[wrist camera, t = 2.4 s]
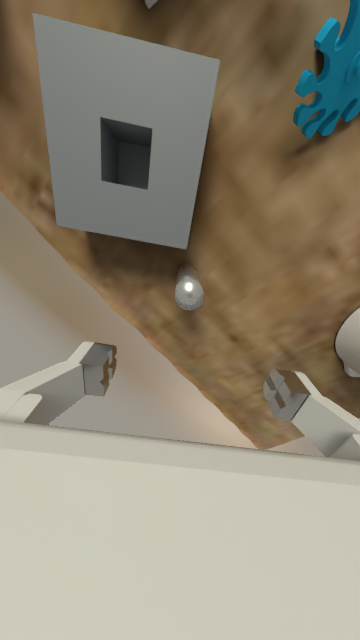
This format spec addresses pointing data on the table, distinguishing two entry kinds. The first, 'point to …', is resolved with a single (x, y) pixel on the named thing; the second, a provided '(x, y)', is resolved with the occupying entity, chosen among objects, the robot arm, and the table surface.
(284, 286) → the table surface
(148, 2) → the hinge
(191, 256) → the table surface
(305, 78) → the gear
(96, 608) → the robot arm
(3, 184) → the table surface
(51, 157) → the pin block
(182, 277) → the steel pin
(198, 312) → the table surface
